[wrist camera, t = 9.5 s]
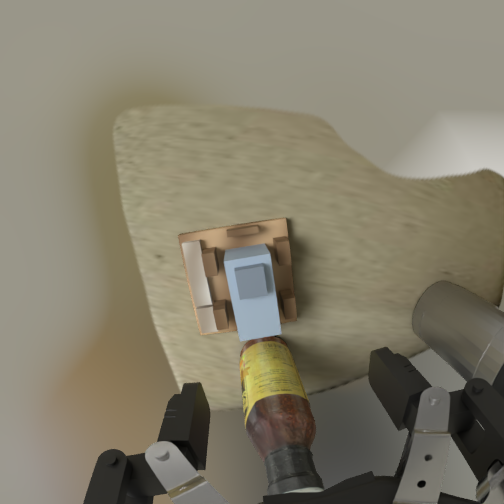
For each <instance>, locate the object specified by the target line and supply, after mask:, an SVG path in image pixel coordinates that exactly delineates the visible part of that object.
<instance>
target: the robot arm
mask: <svg viewBox="0 0 504 504" xmlns="http://www.w3.org/2000/svg"><path fill="white" fill-rule="evenodd" d="M412 325H413V330H414V332H415V334H416V335H417V336H418V337H419V338H421V339H422V340H423V341H424V342H425V343H426V344H427V345H428V346H429V347H430V348H431V349H433V350H434V351H435V352H436V353H437V354H438V355H439V356H440V357H441V358H442V359H443V360H445V361H446V362H447V363H448V364H449V365H450V366H451V367H452V368H453V369H454V370H455V371H456V372H457V373H459V374H460V375H461V376H462V377H463V378H464V379H465V380H466V381H467V383H466V385H465V387H464V389H462V390H458V391H454V392H448V391H447V390H445V389H443V388H441V387H432V386H431V385H430V384H429V383H428V382H427V380H426V379H425V378H424V377H423V376H422V375H421V374H420V372H419V371H418V370H416V368H415V367H414V366H413V365H412V364H411V362H410V361H409V360H408V359H407V358H406V357H404V356H402V355H400V354H398V353H397V354H393V353H392V352H391V351H390V350H389V348H388V347H383V348H380V349H377V350H373V351H372V352H371V355H370V365H369V382H370V385H371V387H372V389H373V390H374V392H375V393H376V395H377V397H378V398H379V400H380V402H381V403H382V405H383V407H384V408H385V409H386V411H387V413H388V415H389V416H390V418H391V419H392V421H393V423H394V424H395V426H396V428H397V429H398V430H402V429H404V428H407V429H408V431H409V432H408V435H407V438H406V442H405V445H404V449H403V452H402V456H401V459H400V462H399V465H398V467H397V470H396V472H395V475H394V477H393V476H374V475H373V473H372V471H370V472H368V473H364V474H362V475H359V476H355V477H352V478H349V479H346V480H344V481H342V482H340V483H338V484H336V485H334V486H332V487H330V488H328V489H326V490H324V491H321V492H289V493H282V494H275V495H267V496H263V502H261V503H259V504H504V312H502V311H500V310H499V308H498V307H497V306H496V305H494V304H492V303H490V302H488V301H487V300H485V299H483V298H481V297H479V296H477V295H476V294H474V293H472V292H470V291H468V290H466V289H464V288H462V287H460V286H459V285H453V284H451V283H450V282H447V281H440V282H437V283H435V284H433V285H432V286H430V287H429V288H428V289H427V290H426V291H425V292H424V294H423V295H422V296H421V298H420V299H419V301H418V303H417V305H416V308H415V311H414V314H413V321H412ZM477 420H478V421H479V423H480V424H481V425H482V427H483V428H484V430H485V431H484V430H483V428H482V427H481V426H480V424H479V423H478V422H477ZM209 424H210V408H209V404H208V401H207V399H206V396H205V393H204V390H203V387H202V385H201V383H200V382H197V383H184V385H183V388H182V392H181V394H175V395H174V396H173V397H172V398H171V399H170V400H169V402H168V405H167V408H166V412H165V415H164V419H163V423H162V426H161V429H160V433H159V437H158V441H157V442H156V443H154V444H152V445H150V446H149V447H148V449H147V450H146V452H145V453H141V454H136V455H130V456H126V455H125V454H124V453H123V452H122V451H120V450H116V449H111V450H107V451H105V452H103V453H102V454H101V455H100V456H99V457H98V460H97V463H96V466H95V469H94V472H93V475H92V477H91V481H90V484H89V487H88V490H87V493H86V496H85V500H84V503H83V504H153V497H154V496H155V495H160V494H167V493H168V495H169V497H170V499H171V500H172V501H173V503H174V504H230V503H229V502H228V501H227V500H226V499H225V498H224V497H223V496H222V495H221V494H220V493H219V492H217V491H216V489H215V488H214V487H213V486H212V485H211V484H210V483H209V482H208V481H207V480H206V479H205V478H204V477H202V476H201V475H200V474H199V473H198V472H197V470H205V467H206V456H207V445H208V434H209ZM450 437H452V439H453V440H454V442H455V443H456V445H457V446H458V448H459V450H460V451H461V453H462V455H463V456H464V458H465V460H466V461H467V463H468V465H469V466H470V468H471V470H472V471H473V473H474V475H475V477H476V478H477V480H478V484H477V487H476V499H477V500H478V502H477V501H473V500H469V499H464V498H460V497H456V496H453V495H449V494H446V493H442V492H440V491H441V486H442V483H443V478H444V474H445V469H446V463H447V457H448V451H449V445H450Z"/></svg>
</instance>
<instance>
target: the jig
mask: <svg viewBox="0 0 504 504" xmlns="http://www.w3.org/2000/svg"><path fill="white" fill-rule="evenodd" d="M178 238H179V243H180V248H181V253H182V258H183V263H184V268H185V272H186V277H187V281H188V286H189V290H190V294H191V299H192V303H193V307H194V311H195V315H196V319H197V323H198V327H199V331H200V335H206V334H215V333H222V332H230V331H237V330H238V329H237V325H236V320H235V315H234V310H233V306H232V301H231V296H230V291H229V286H228V281H227V276H226V271H225V266H224V256H225V250H228V249H234V248H240V247H245V246H251V245H257V244H263V243H265V245H266V247H267V249H268V250H269V252H270V256H271V262H272V269H273V276H274V283H275V290H276V297H277V304H278V312H279V319H280V324H281V323H286V322H292V321H297V313H296V302H295V295H294V285H293V275H292V266H291V264H292V263H291V254H290V245H289V239H288V231H287V223H286V218H278V219H271V220H264V221H258V222H251V223H244V224H238V225H231V226H225V227H219V228H213V229H207V230H201V231H195V232H189V233H183V234H179V235H178Z"/></svg>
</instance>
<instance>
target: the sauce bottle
mask: <svg viewBox="0 0 504 504" xmlns="http://www.w3.org/2000/svg"><path fill="white" fill-rule="evenodd" d="M240 375H241V386H242V400H243V408H244V419H245V427H246V433H247V435H248V437H249V439H250V440H251V442H252V444H253V446H254V447H255V449H256V450H257V452H258V454H259V455H260V457H261V459H262V460H263V462H264V465H265V467H266V471H267V478H268V483H269V486H268V489H267V493H268V495H275V494H282V493H289V492H321V491H324V486H323V483H322V479H321V478H320V476H319V475H318V473H317V472H316V469H315V466H314V463H313V460H312V456H313V454H312V452H311V451H310V447H311V444H312V442H313V440H314V437H315V433H316V425H315V420H314V417H313V415H312V413H311V409H310V403H309V400H308V398H307V395H306V392H305V390H304V387H303V384H302V381H301V379H300V376H299V373H298V370H297V368H296V365H295V362H294V360H293V357H292V354H291V352H290V350H288V347H287V344H286V343H285V342H284V341H283V340H281V339H280V338H278V337H274V336H269V337H263V338H257V339H251V340H250V341H248V342H247V343H246V344H245V345H244V347H243V349H242V351H241V355H240Z"/></svg>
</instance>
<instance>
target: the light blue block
mask: <svg viewBox="0 0 504 504" xmlns="http://www.w3.org/2000/svg"><path fill="white" fill-rule="evenodd" d="M224 266H225V271H226V276H227V281H228V286H229V291H230V296H231V301H232V306H233V310H234V315H235V320H236V325H237V329H238V334H239V339H240V341H245V340H251V339H257V338H263V337H269V336H274V335H279V334H281V326H280V319H279V312H278V304H277V297H276V290H275V283H274V276H273V269H272V262H271V256H270V252H269V250H268V249H267V247H266V245H265V243H263V244H257V245H251V246H245V247H240V248H234V249H228V250H225V256H224Z"/></svg>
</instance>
